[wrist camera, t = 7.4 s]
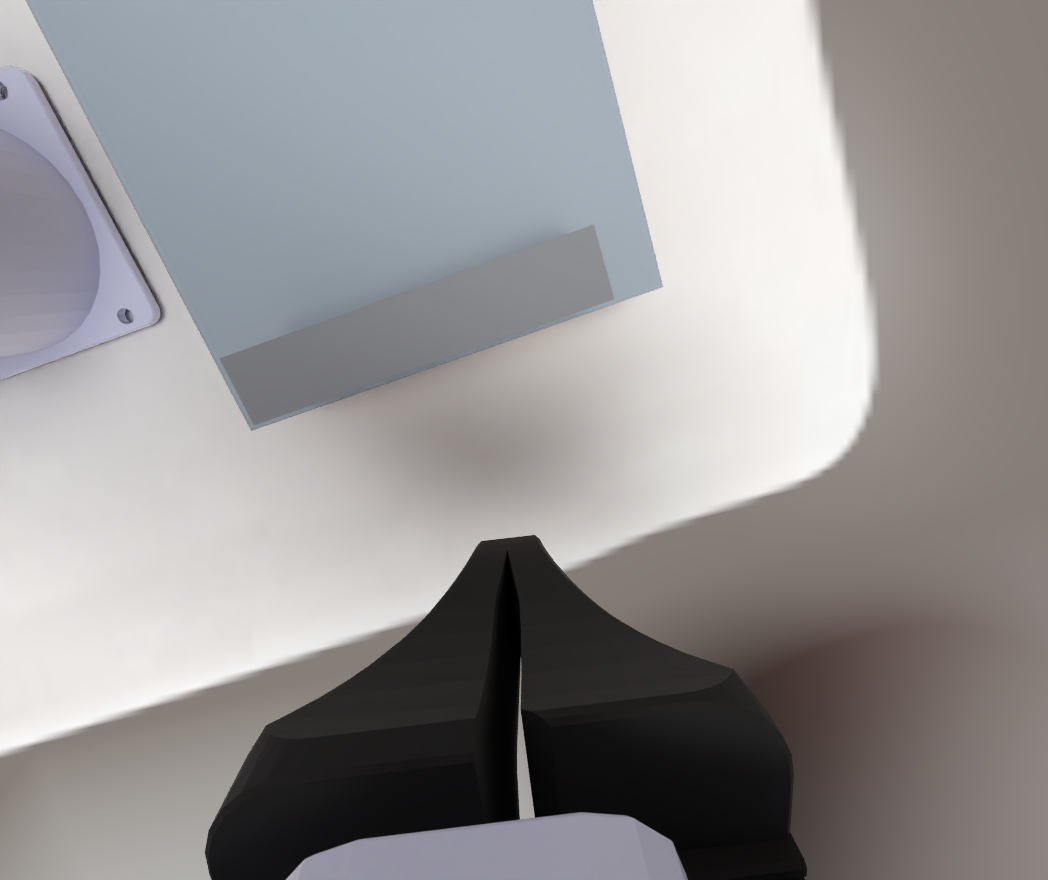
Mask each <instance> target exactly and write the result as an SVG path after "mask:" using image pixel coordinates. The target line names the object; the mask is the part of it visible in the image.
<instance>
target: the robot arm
mask: <svg viewBox="0 0 1048 880" xmlns="http://www.w3.org/2000/svg"><path fill="white" fill-rule="evenodd" d="M4 85H5V86H6V88H7V91H8V95H7V98H6V99H5V100H3V98H2V96H1V93H0V380H2V379H5V378H8V377H11V376H13V375H16V374H19V373H22V372H24V371H27V370H30V369H33V368H35V367H38V366H41V365H44V364H46V363H49V362H52V361H55V360H57V359H60V358H63V357H66V356H68V355H71V354H74V353H77V352H79V351H82V350H85V349H88V348H90V347H93V346H96V345H98V344H101V343H104V342H107V341H109V340H112V339H115V338H118V337H120V336H123V335H126V334H129V333H131V332H134V331H137V330H140V329H142V328H145V327H148V326H151V325H153V324H155V323H156V322H157V321H158V320H159V318H160V309H159V306H158V304H157V302H156V301H155V299H154V297H153V295H152V293H151V291H150V289H149V288H148V286H147V284H146V282H145V280H144V278H143V276H142V275H141V273H140V271H139V269H138V267H137V265H136V264H135V262H134V260H133V258H132V256H131V254H130V252H129V251H128V249H127V247H126V245H125V243H124V241H123V239H122V238H121V236H120V234H119V232H118V230H117V228H116V227H115V225H114V223H113V221H112V219H111V217H110V215H109V214H108V212H107V210H106V208H105V206H104V204H103V202H102V201H101V199H100V197H99V195H98V193H97V191H96V190H95V188H94V186H93V184H92V182H91V180H90V178H89V177H88V175H87V173H86V171H85V169H84V167H83V165H82V164H81V162H80V160H79V158H78V156H77V154H76V153H75V151H74V149H73V147H72V145H71V143H70V141H69V140H68V138H67V136H66V134H65V132H64V130H63V128H62V127H61V125H60V123H59V121H58V119H57V117H56V115H55V114H54V112H53V110H52V108H51V106H50V104H49V103H48V101H47V99H46V97H45V95H44V93H43V91H42V90H41V88H40V86H39V84H38V82H37V81H36V80H35V78H34V77H33V76H32V75H30V74H29V73H28V72H26V71H24V70H22V69H19V68H16V67H13V66H7V67H3V68H0V92H1V88H2V87H3V86H4ZM127 309H128V310H130V311H131V312H132V314H133V317H134V319H133V322H132V323H131V322H129V321H128V320H127V319H126V316H125V311H126V310H127ZM520 657H521V659H522V660H521V661H522V662H521V663H522V681H521V682H522V683H521V715H522V722H523V729H524V737H525V745H526V753H527V760H528V768H529V775H530V783H531V790H532V798H533V806H534V812H535V818H529V819H521V820H520V817H519V798H518V779H517V734H518V710H519V709H518V708H519V685H520V683H519V682H520ZM793 778H794V773H793V763H792V754H791V752H790V750H789V748H788V746H787V744H786V742H785V740H784V738H783V736H782V734H781V732H780V731H779V729H778V727H777V726H776V724H775V723H774V721H773V719H772V718H771V716H770V715H769V713H768V712H767V710H766V709H765V708H764V706H763V705H762V704H761V702H760V701H759V700H758V699H757V697H756V696H755V695H754V693H753V692H752V691H751V690H750V689H749V687H748V686H747V685H746V684H745V682H744V681H743V680H742V679H741V678H740V676H739V675H738V674H737V673H736V671H735V670H734V669H731V668H728V667H725V666H722V665H719V664H716V663H713V662H710V661H707V660H704V659H701V658H698V657H695V656H692V655H689V654H686V653H683V652H681V651H679V650H676V649H674V648H672V647H670V646H667V645H665V644H663V643H660V642H658V641H656V640H654V639H652V638H650V637H648V636H646V635H644V634H642V633H640V632H638V631H637V630H635V629H633V628H631V627H630V626H628V625H626V624H625V623H623V622H621V621H620V620H618V619H616V618H615V617H613V616H612V615H610V614H609V613H608V612H606V611H605V610H604V609H602V608H601V607H600V606H598V605H597V604H596V603H595V602H594V601H592V600H591V599H590V598H589V597H588V596H587V595H586V594H584V593H583V592H582V591H581V590H580V589H579V588H578V587H577V586H576V585H575V584H574V583H573V582H572V581H571V580H570V579H569V578H568V577H567V575H566V574H565V573H564V572H563V571H562V570H561V569H560V568H559V566H558V565H557V564H556V563H555V562H554V560H553V559H552V558H551V556H550V555H549V554H548V552H547V551H546V549H545V548H544V546H543V545H542V543H541V541H540V539H539V538H538V537H536V536H535V535H531V536H523V537H514V538H505V539H497V540H488V541H481V542H480V543H479V544H478V546H477V547H476V549H475V550H474V552H473V554H472V556H471V557H470V559H469V560H468V562H467V564H466V565H465V567H464V568H463V570H462V571H461V573H460V574H459V575H458V577H457V578H456V580H455V581H454V582H453V584H452V585H451V587H450V588H449V589H448V591H447V592H446V593H445V595H444V596H443V597H442V598H441V599H440V601H439V602H438V603H437V604H436V605H435V607H434V608H433V609H432V610H431V612H430V613H429V614H428V615H427V616H426V617H425V618H424V619H423V620H422V621H421V622H420V623H419V624H418V625H417V626H416V627H415V628H414V629H413V630H412V631H411V632H410V633H409V634H408V635H407V636H406V637H404V638H403V639H402V640H401V641H400V642H399V643H397V644H396V645H395V646H394V647H392V648H391V649H390V650H389V651H387V652H386V653H385V654H384V655H382V656H381V657H380V658H378V659H377V660H376V661H375V662H374V663H372V664H371V665H369V666H368V667H367V668H365V669H364V670H362V671H361V672H359V673H358V674H356V675H355V676H354V677H352V678H351V679H349V680H347V681H346V682H344V683H343V684H341V685H339V686H338V687H336V688H335V689H333V690H332V691H330V692H328V693H327V694H325V695H323V696H322V697H320V698H318V699H316V700H314V701H312V702H311V703H309V704H307V705H305V706H303V707H301V708H299V709H297V710H295V711H294V712H292V713H290V714H288V715H286V716H284V717H282V718H280V719H278V720H276V721H274V722H272V723H270V724H268V725H266V726H265V728H264V730H263V732H262V733H261V735H260V736H259V738H258V740H257V741H256V743H255V745H254V746H253V748H252V750H251V751H250V753H249V754H248V756H247V758H246V760H245V762H244V764H243V765H242V767H241V769H240V771H239V773H238V775H237V777H236V779H235V781H234V783H233V785H232V787H231V788H230V791H229V792H228V794H227V797H226V798H225V800H224V802H223V804H222V806H221V808H220V810H219V812H218V814H217V816H216V818H215V820H214V821H213V823H212V825H211V827H210V829H209V832H208V838H207V844H206V850H205V855H206V859H207V864H208V869H209V874H210V876H211V879H212V880H805V879H804V877H806V874H807V867H806V864H805V860H804V858H803V856H802V854H801V853H800V850H799V848H798V846H797V845H796V843H795V841H794V839H793V837H792V835H791V833H790V825H791V809H792V794H793Z"/></svg>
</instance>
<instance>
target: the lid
mask: <svg viewBox="0 0 1048 880" xmlns="http://www.w3.org/2000/svg"><path fill="white" fill-rule="evenodd" d="M26 2H27V4H28V6H29V8H30V10H31V12H32V13H33V15H34V17H35V19H36V21H37V23H38V25H39V27H40V29H41V31H42V32H43V34H44V36H45V38H46V40H47V42H48V44H49V46H50V48H51V50H52V52H53V53H54V55H55V57H56V59H57V61H58V63H59V65H60V67H61V69H62V71H63V73H64V74H65V76H66V78H67V80H68V82H69V84H70V86H71V88H72V90H73V92H74V93H75V95H76V97H77V99H78V101H79V103H80V105H81V107H82V109H83V111H84V113H85V114H86V116H87V118H88V120H89V122H90V124H91V126H92V128H93V130H94V132H95V134H96V135H97V137H98V139H99V141H100V143H101V145H102V147H103V149H104V151H105V153H106V154H107V156H108V158H109V160H110V162H111V164H112V166H113V168H114V170H115V172H116V174H117V175H118V177H119V179H120V181H121V183H122V185H123V187H124V189H125V191H126V193H127V195H128V196H129V198H130V200H131V202H132V204H133V206H134V208H135V210H136V212H137V214H138V215H139V217H140V219H141V221H142V223H143V225H144V227H145V229H146V231H147V233H148V235H149V236H150V238H151V240H152V242H153V244H154V246H155V248H156V250H157V252H158V254H159V256H160V257H161V259H162V261H163V263H164V265H165V267H166V269H167V271H168V273H169V275H170V277H171V278H172V280H173V282H174V284H175V286H176V288H177V290H178V292H179V294H180V296H181V297H182V299H183V301H184V303H185V305H186V307H187V309H188V311H189V313H190V315H191V317H192V318H193V320H194V322H195V324H196V326H197V328H198V330H199V332H200V334H201V336H202V338H203V339H204V341H205V343H206V345H207V347H208V349H209V351H210V353H211V355H212V357H213V358H214V360H215V362H216V364H217V366H218V368H219V370H220V372H221V374H222V376H223V378H224V379H225V381H226V383H227V385H228V387H229V389H230V391H231V393H232V395H233V397H234V399H235V400H236V402H237V404H238V406H239V408H240V410H241V412H242V414H243V416H244V418H245V419H246V421H247V423H248V425H249V427H250V429H251V431H252V430H255V429H258V428H260V427H263V426H266V425H269V424H272V423H275V422H278V421H281V420H283V419H286V418H289V417H292V416H295V415H298V414H301V413H303V412H306V411H309V410H312V409H315V408H318V407H321V406H323V405H326V404H329V403H332V402H335V401H338V400H341V399H343V398H346V397H349V396H352V395H355V394H358V393H361V392H363V391H366V390H369V389H372V388H375V387H378V386H381V385H383V384H386V383H389V382H392V381H395V380H398V379H401V378H404V377H406V376H409V375H412V374H415V373H418V372H421V371H424V370H426V369H429V368H432V367H435V366H438V365H441V364H444V363H446V362H449V361H452V360H455V359H458V358H461V357H464V356H466V355H469V354H472V353H475V352H478V351H481V350H484V349H486V348H489V347H492V346H495V345H498V344H501V343H504V342H506V341H509V340H512V339H515V338H518V337H521V336H524V335H527V334H529V333H532V332H535V331H538V330H541V329H544V328H547V327H549V326H552V325H555V324H558V323H561V322H564V321H567V320H569V319H572V318H575V317H578V316H581V315H584V314H587V313H589V312H592V311H595V310H598V309H601V308H604V307H607V306H609V305H612V304H615V303H618V302H621V301H624V300H627V299H629V298H632V297H635V296H638V295H641V294H644V293H647V292H650V291H652V290H655V289H658V288H661V287H663V285H662V281H661V277H660V273H659V269H658V265H657V261H656V257H655V253H654V249H653V245H652V241H651V237H650V233H649V229H648V224H647V220H646V216H645V212H644V208H643V204H642V200H641V196H640V192H639V188H638V184H637V180H636V176H635V172H634V168H633V164H632V159H631V155H630V151H629V147H628V143H627V139H626V135H625V131H624V127H623V123H622V119H621V115H620V111H619V107H618V103H617V98H616V94H615V90H614V86H613V82H612V78H611V74H610V70H609V66H608V62H607V58H606V54H605V50H604V46H603V42H602V38H601V33H600V29H599V25H598V21H597V17H596V13H595V9H594V5H593V1H592V0H26Z"/></svg>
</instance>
